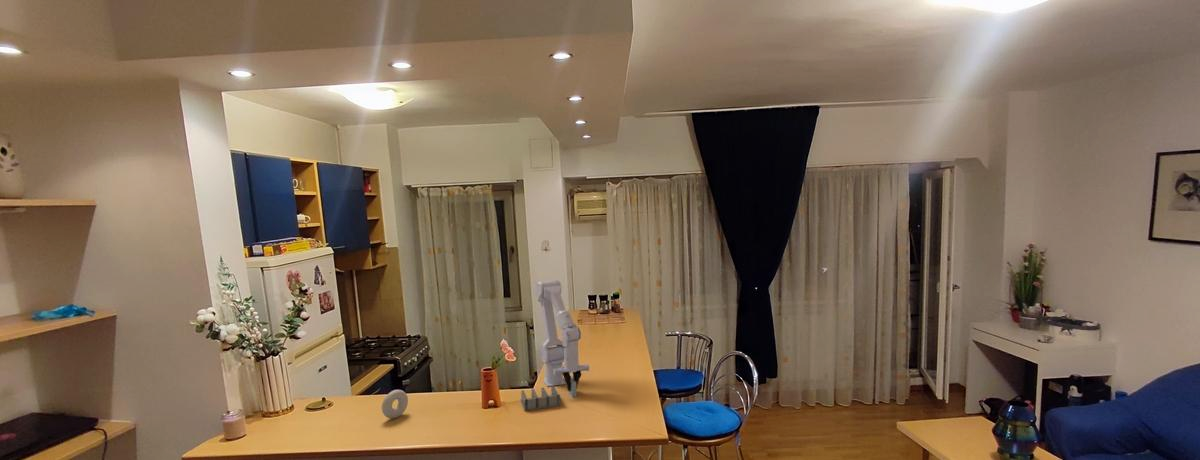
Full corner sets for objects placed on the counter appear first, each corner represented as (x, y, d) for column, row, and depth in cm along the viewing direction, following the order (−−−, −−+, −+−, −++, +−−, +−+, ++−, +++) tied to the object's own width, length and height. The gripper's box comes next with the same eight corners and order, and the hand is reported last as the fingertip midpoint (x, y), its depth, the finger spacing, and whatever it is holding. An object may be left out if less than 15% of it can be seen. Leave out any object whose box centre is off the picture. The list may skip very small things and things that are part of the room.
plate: (567, 391, 191) (567, 376, 191) (572, 390, 192) (571, 376, 192) (572, 397, 185) (571, 382, 184) (576, 396, 185) (576, 381, 185)
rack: (520, 401, 182) (520, 390, 182) (554, 396, 186) (554, 386, 186) (524, 411, 172) (524, 400, 172) (560, 405, 177) (560, 395, 176)
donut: (404, 411, 174) (403, 385, 174) (410, 413, 172) (409, 386, 172) (380, 421, 166) (379, 394, 165) (386, 424, 164) (385, 396, 163)
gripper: (555, 361, 182) (556, 395, 182) (591, 357, 186) (591, 391, 187) (552, 356, 188) (552, 389, 189) (586, 352, 193) (587, 385, 193)
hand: (572, 389), depth 188 cm, fingers closed on plate, 2 cm apart
